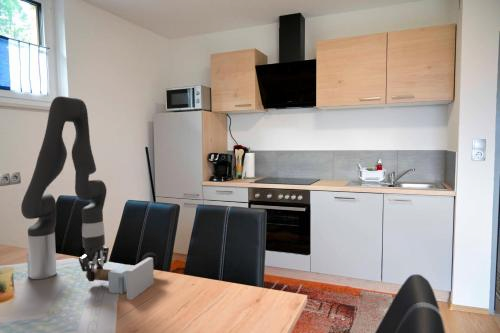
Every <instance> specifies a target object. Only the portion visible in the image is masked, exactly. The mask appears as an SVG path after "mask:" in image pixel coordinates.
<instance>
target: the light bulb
mask: <svg viewBox="0 0 500 333" xmlns="http://www.w3.org/2000/svg"><path fill="white" fill-rule="evenodd" d="M148 257H149V258H153V271H154V270H155V266H156V264H157V262H158V256H157V254H155V253H154V252H146V253H145V254H144V255H142V258H141V261H143V260H145V259H146V258H148Z"/></svg>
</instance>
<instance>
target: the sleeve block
mask: <svg viewBox="0 0 500 333" xmlns="http://www.w3.org/2000/svg"><path fill="white" fill-rule="evenodd" d="M135 265H136V264H135ZM135 265H133V264H132V265H131V264H120V265H118V266H116V267H114V268H113V269H110V270H111V271H109V272H108V281H107V282H108V293H111V294H112V293H113V294H121V295H123V294H124V293H127V285H126V270H128V269H130V268H131V267H133V266H135Z"/></svg>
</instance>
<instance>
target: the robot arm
mask: <svg viewBox="0 0 500 333" xmlns="http://www.w3.org/2000/svg"><path fill="white" fill-rule="evenodd" d="M88 114H89V112H88V108H87V105H86V103H85V101H84V100H83V99H80V98H77V97H70V96H63V95H58V96H56V97H54V98H53V99H52V101H51V103H50V107H49V111H48V117H47V122H46V128H45V132H44V137H43V139H42V144H41V147H40V150H39V152H38V153H39V154H38V156H37V160H36V164H35V168H34V170H33V173H32V175H31V176H32V177H31V179H30V182H29V184H28V187H27V190H26V192H25V194H24V196H23V199H22V201H21V204H20V207H21V208H20V210H21V214H22V216H23V217H24V218H25V219H27V220H34V219H37V221H36V222H35V223H33V225H31V226H29V227H28V229H27V238H28V239H27V241H28V253H27V254H26V259H27V261H26V262H27V276H28V277H29V278H30V279H31V280H43V279H46V278H51V277H53V276H55V275H56V274H57V257H56V256H57V255H56V254H57V253H56V230H55V229H56V226H57V202H56V199H55V197H54V196H53V195H52V194H51V193H45V191H46V190H47V188H49V186H50V185H51V183H53V182H54V180H56V179H57V177H58V176H59V175H60V174H61V173H62V171H64V166H65V163H66V160H67V156H68V151H67V148H66V145H65V142H64V138H63V131H64V127H65V124H66V123H67V122H69V123H73V125H74V128H75V138H74V140H73V141H74V142H73V144H72V149H71V160H72V163H73V168H74V170H75V176H74V177H75V178H74V179H75V180H74V191H75V195H76V197H77V198H78V199H79V200H80V201H90V202H89V204H88V205H86V206H84V207H83V208H82V209H81V221H82V226H81V235H82V247H83V248H84V254H83V255H82V256H79V257H78V263H79V265H80V267H81V271H82V272H86V273H87V275H88V279H87V281H88V282H94V281H96V280H95V278H94V268H95V266H96V268H95V269H104V266H105V265H104V264H107V262H108V257H109V249H110V247H105V245H106V244H105V242H106V241H105V237H106V236H105V225H104V212H103V210H104V206H105V202H106V197H107V186H106V183H105V182H104V181H103V180H101V179H93V180H90V175H92V174H94V173H96V171H97V166H96V163H95V158H94V155H93V151H92V145H91V140H90V137H91V136H90V124H89V115H88ZM28 277H27V278H28Z"/></svg>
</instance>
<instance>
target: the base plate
mask: <svg viewBox="0 0 500 333" xmlns="http://www.w3.org/2000/svg"><path fill="white" fill-rule="evenodd" d="M154 279H155V278H154V270H153V258H149V257H148V258H146V259H145V260H143V261H142V260H141V261H140V262H139V263H137V264H135V266H133V267H131V268H130V269H128V270H126V285H127V291H126V300H131V301H132V300H134V299H135V298H136V297H138V296H139V295H141V294H142V293H143V292H145V290H147V289H149V288H150V287H151V286H152V285H153V284H154Z"/></svg>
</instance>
